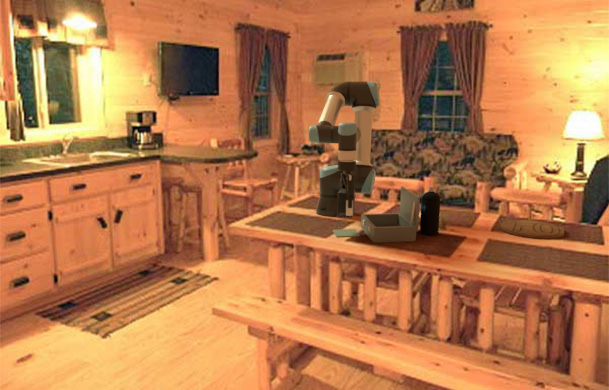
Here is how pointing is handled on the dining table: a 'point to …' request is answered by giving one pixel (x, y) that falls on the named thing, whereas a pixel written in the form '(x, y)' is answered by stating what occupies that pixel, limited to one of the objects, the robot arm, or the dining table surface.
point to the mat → (346, 233)
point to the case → (394, 221)
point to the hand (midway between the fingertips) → (346, 212)
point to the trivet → (532, 229)
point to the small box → (343, 203)
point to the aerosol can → (430, 213)
